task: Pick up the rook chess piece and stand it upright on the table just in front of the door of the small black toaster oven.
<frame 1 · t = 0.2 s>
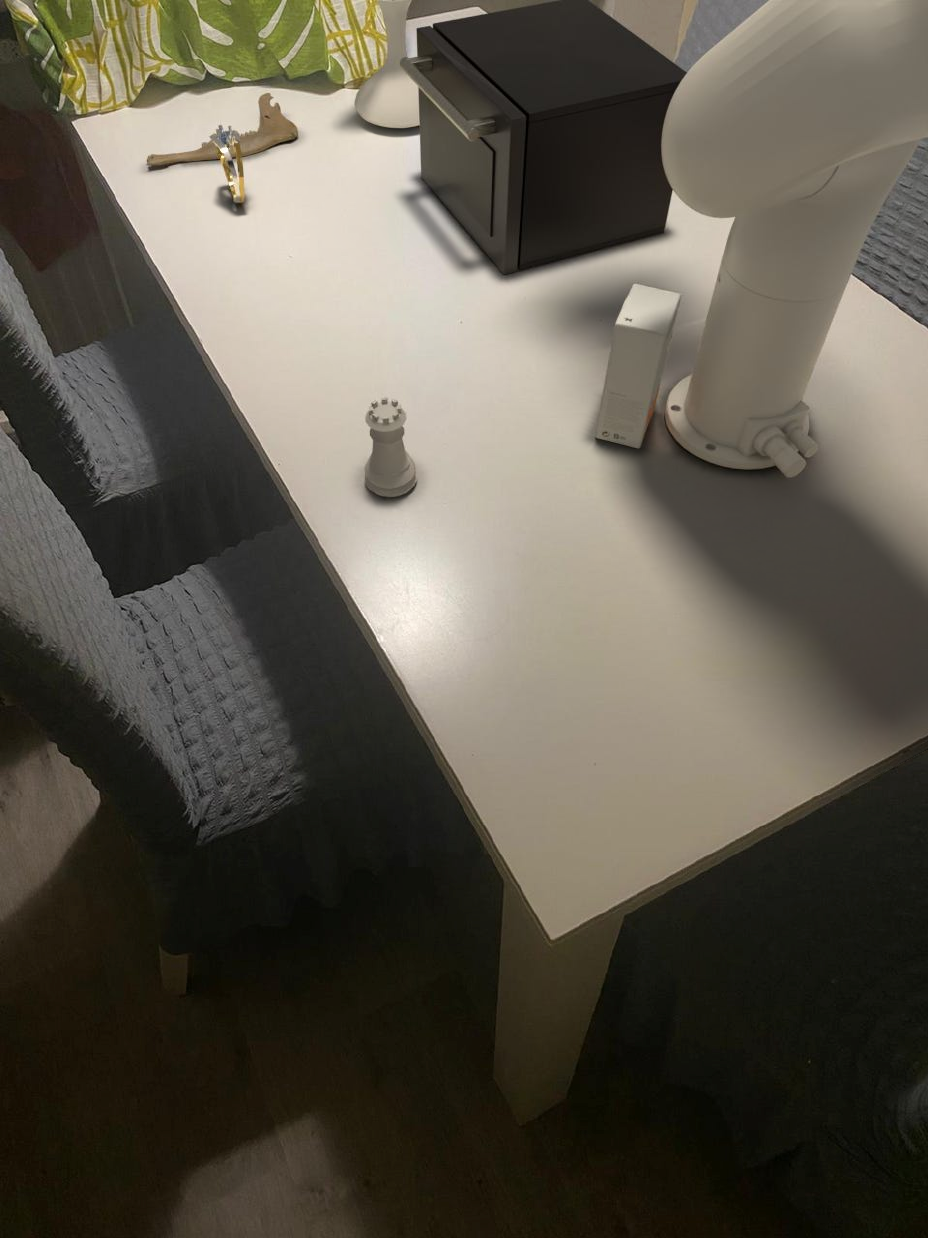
rook chess piece: (391, 482, 77), on the table
oven: (545, 203, 103), on the table
oven door: (453, 153, 94), point 8 cm above the table, hinge at 0.0°
flower in vase: (395, 119, 115), on the table
ring: (238, 202, 103), on the table
cosmetic box: (625, 424, 81), on the table
jawbone: (219, 140, 112), on the table
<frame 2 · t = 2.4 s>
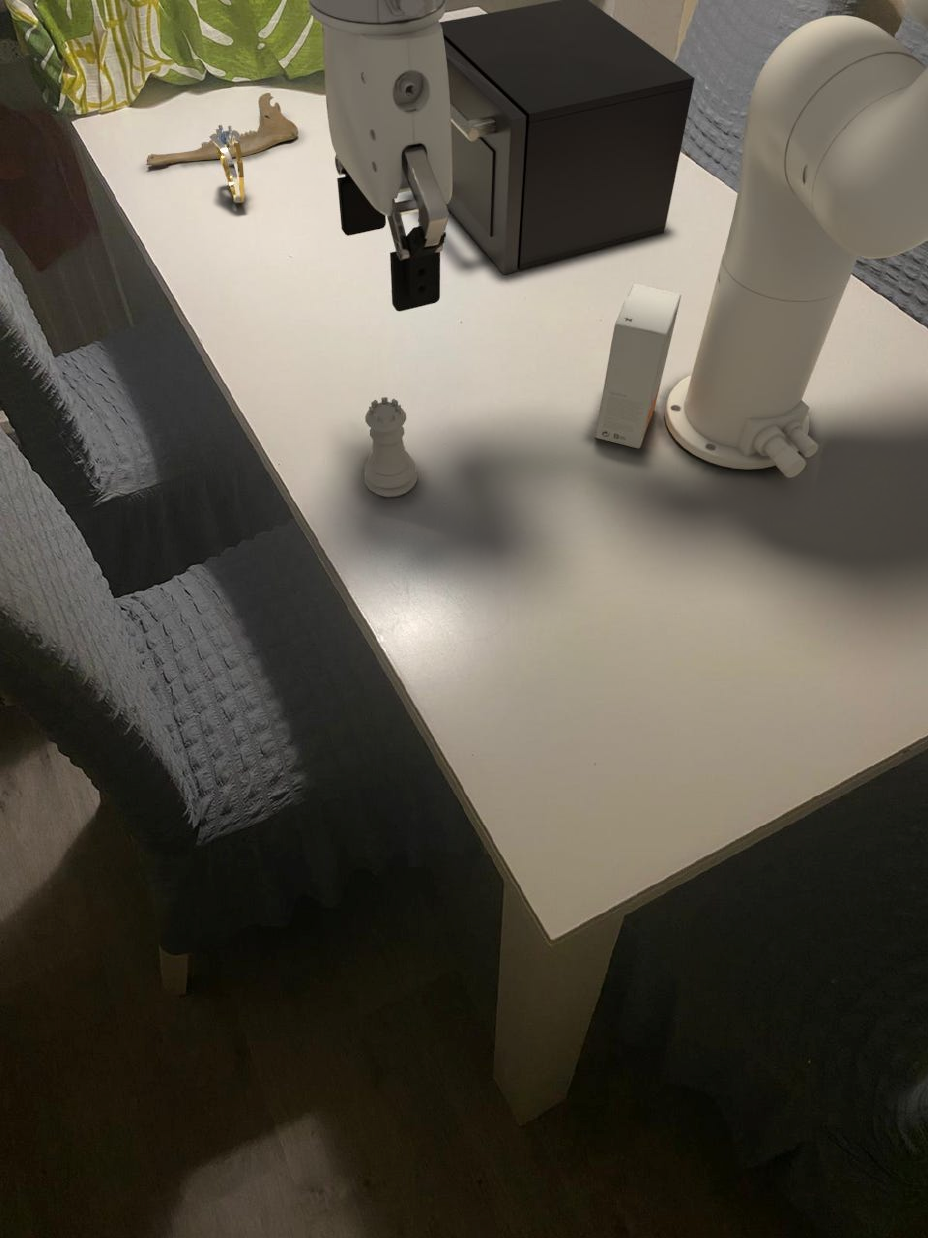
hand: (389, 265, 62), 19 cm above the table, tool pointing down, fingers open, 9 cm apart
nothing on the table moved.
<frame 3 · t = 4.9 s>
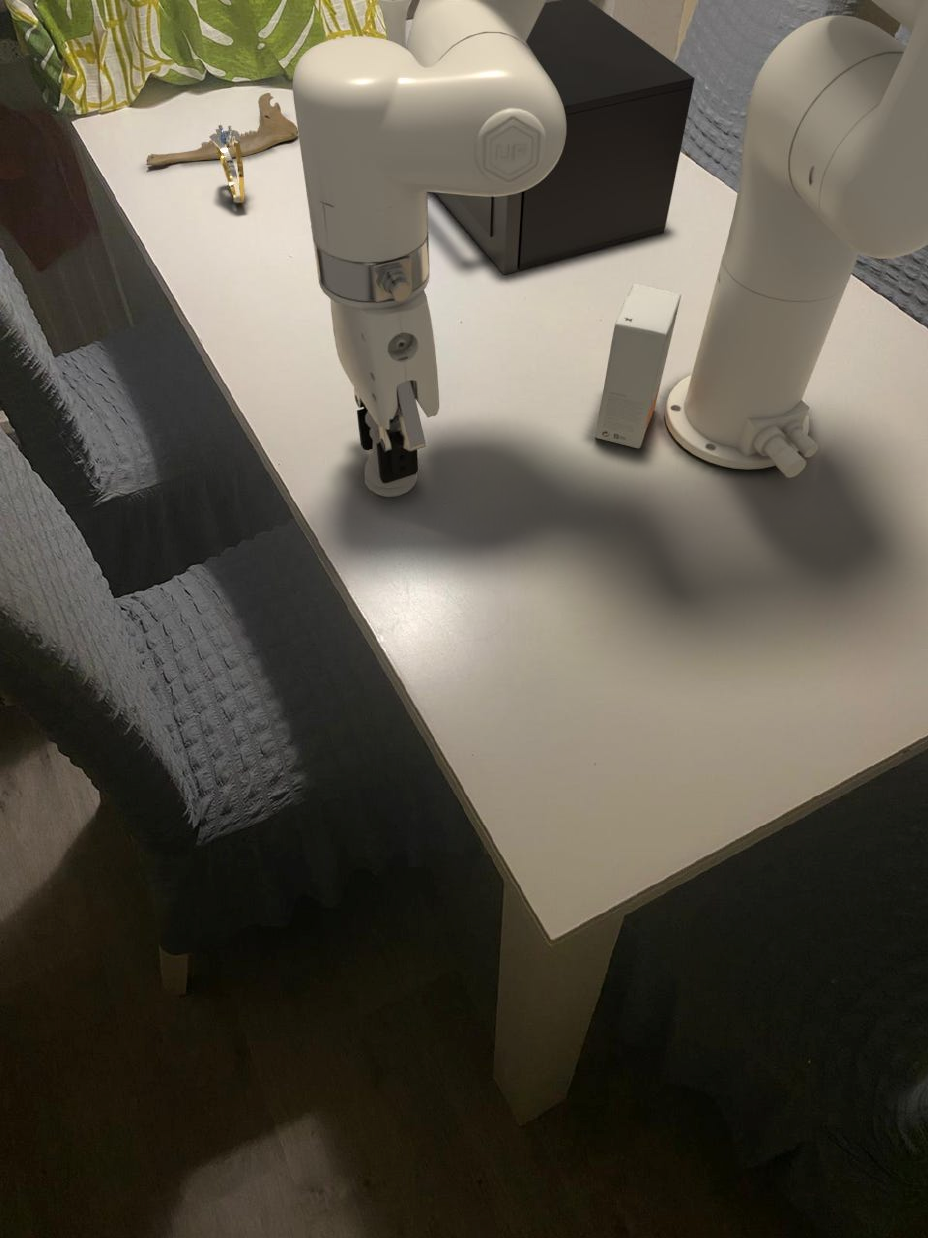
hand: (389, 458, 74), 3 cm above the table, tool pointing down, fingers closed on rook chess piece, 3 cm apart
rook chess piece: (391, 482, 77), on the table, touching gripper
everything else where it was.
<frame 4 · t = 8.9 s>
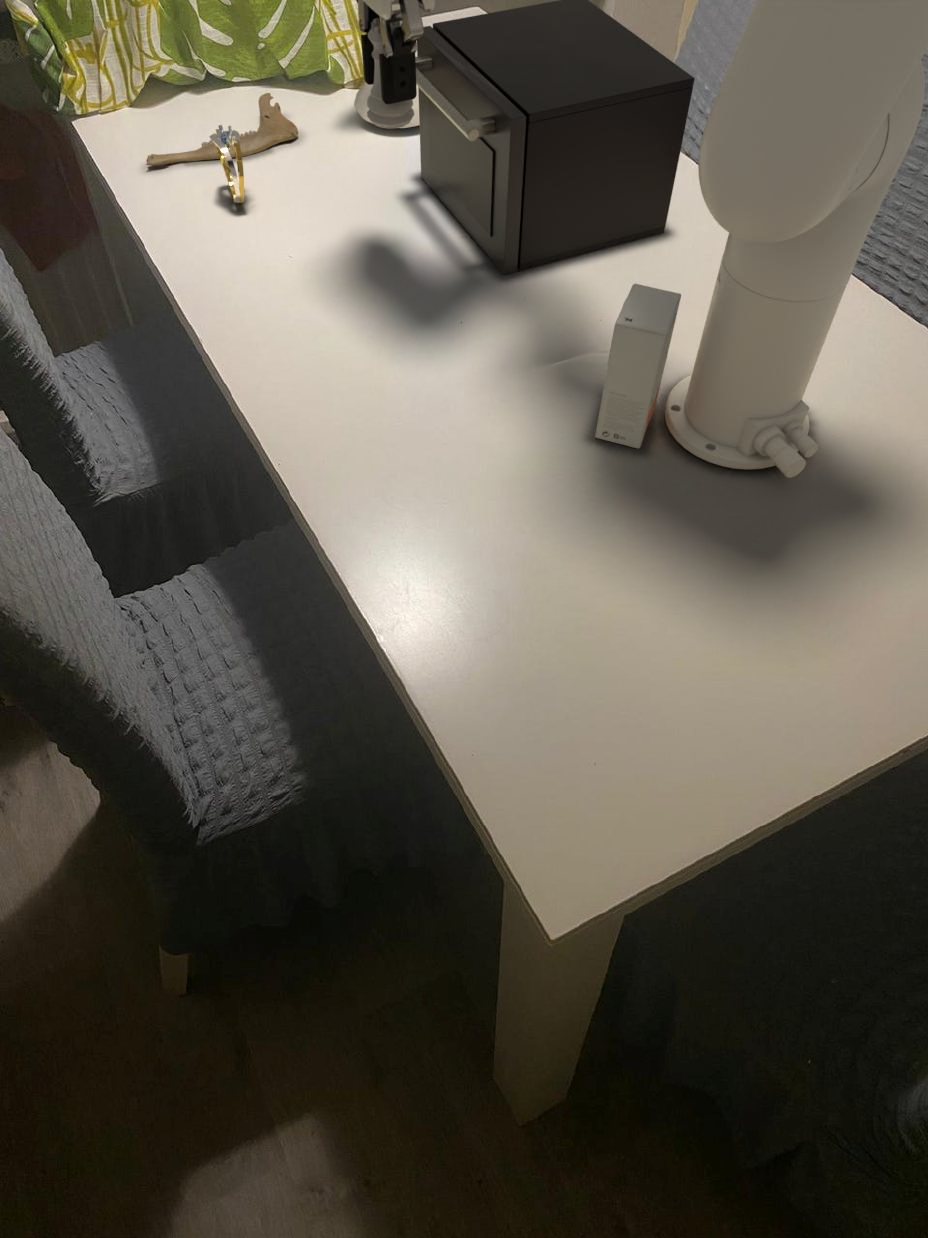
hand: (390, 88, 82), 17 cm above the table, tool pointing down, fingers closed on rook chess piece, 3 cm apart
rook chess piece: (391, 120, 84), point 14 cm above the table, touching gripper
everything else where it was.
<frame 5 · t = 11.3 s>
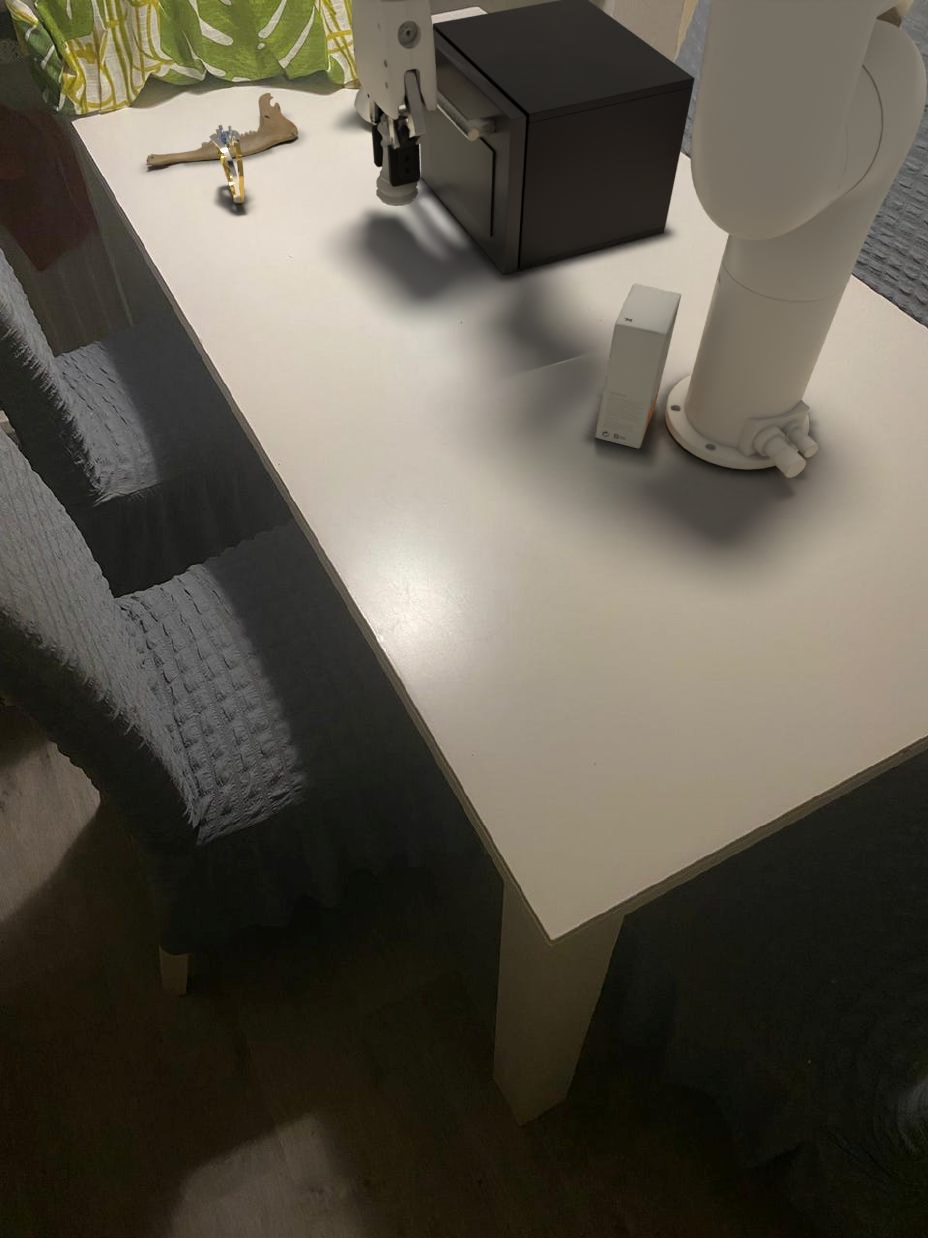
hand: (397, 171, 92), 7 cm above the table, tool pointing down, fingers closed on rook chess piece, 3 cm apart
rook chess piece: (397, 198, 95), point 5 cm above the table, touching gripper
everything else where it was.
when the fingers open (3 cm above the table, at t = 12.8 s): rook chess piece stays where it is, on the table.
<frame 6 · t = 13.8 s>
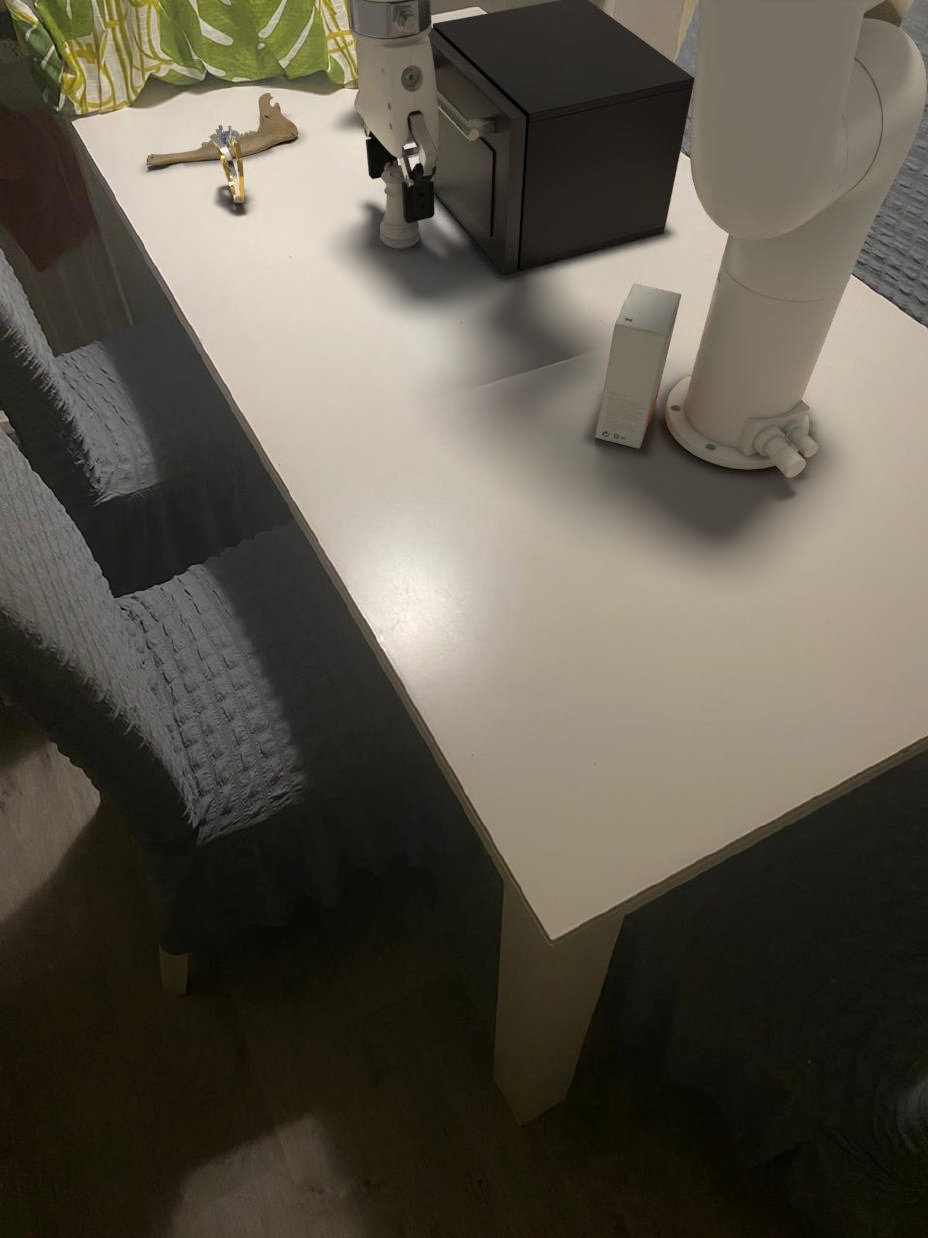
hand: (401, 196, 94), 5 cm above the table, tool pointing down, fingers open, 9 cm apart
rook chess piece: (400, 241, 99), on the table
everything else where it was.
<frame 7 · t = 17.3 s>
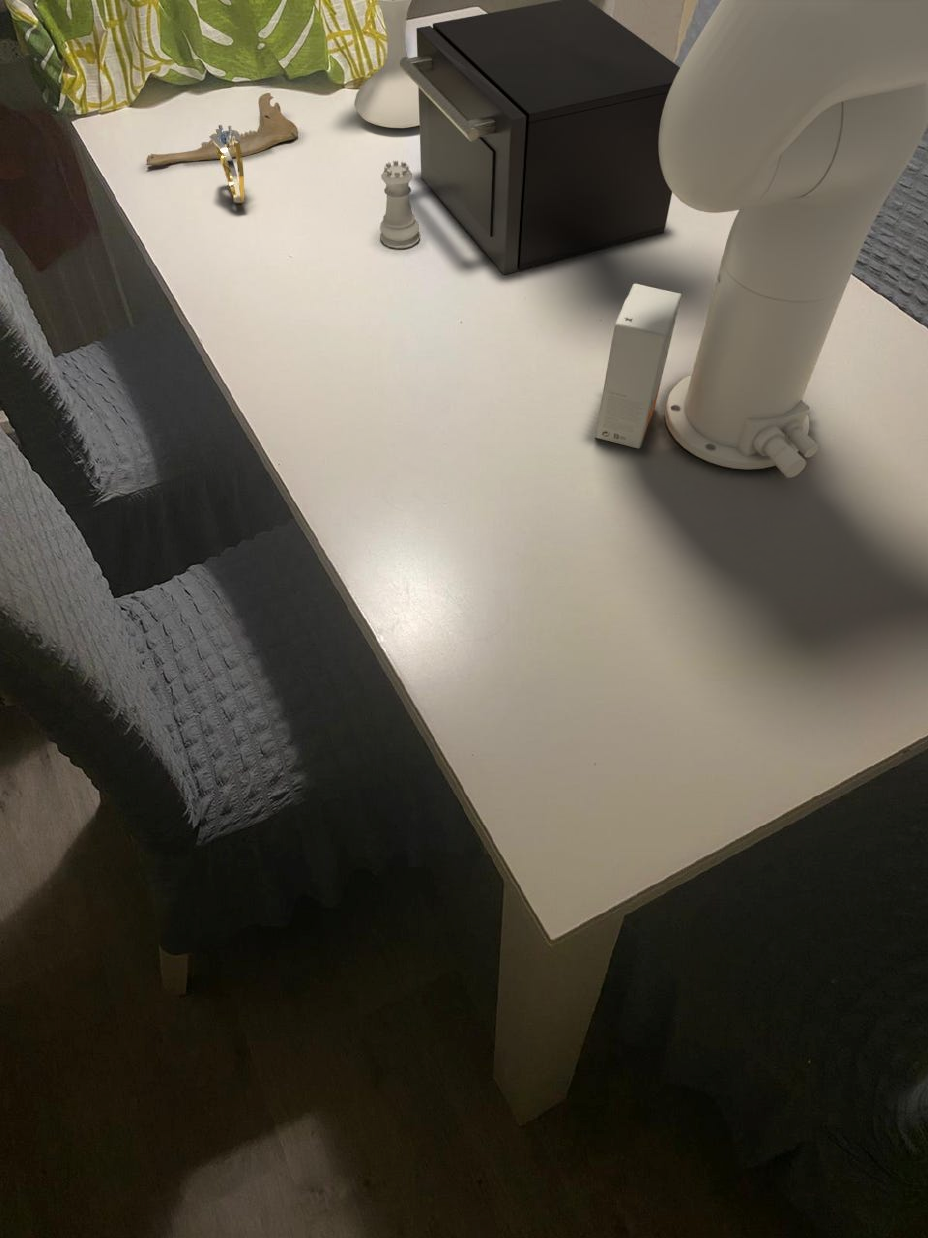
nothing on the table moved.
at the end: rook chess piece inside the target area on the table beside the oven (0.4 cm from its centre), on the table; rook chess piece tilted 0°; the gripper is holding nothing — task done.
